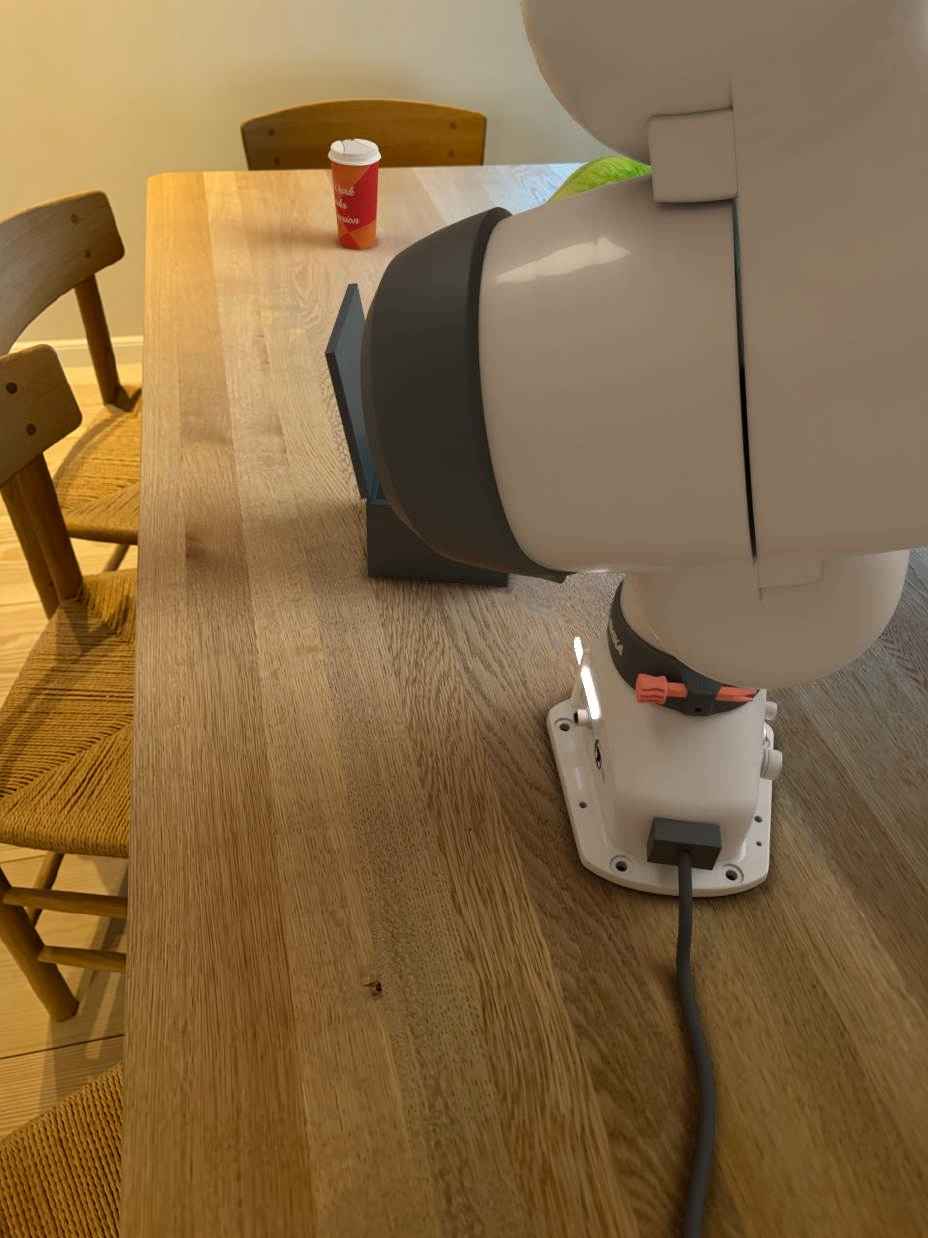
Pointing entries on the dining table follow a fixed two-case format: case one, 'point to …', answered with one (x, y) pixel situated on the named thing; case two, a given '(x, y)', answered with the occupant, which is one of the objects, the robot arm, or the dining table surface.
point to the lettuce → (600, 175)
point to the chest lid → (351, 384)
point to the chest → (412, 550)
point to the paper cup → (355, 191)
